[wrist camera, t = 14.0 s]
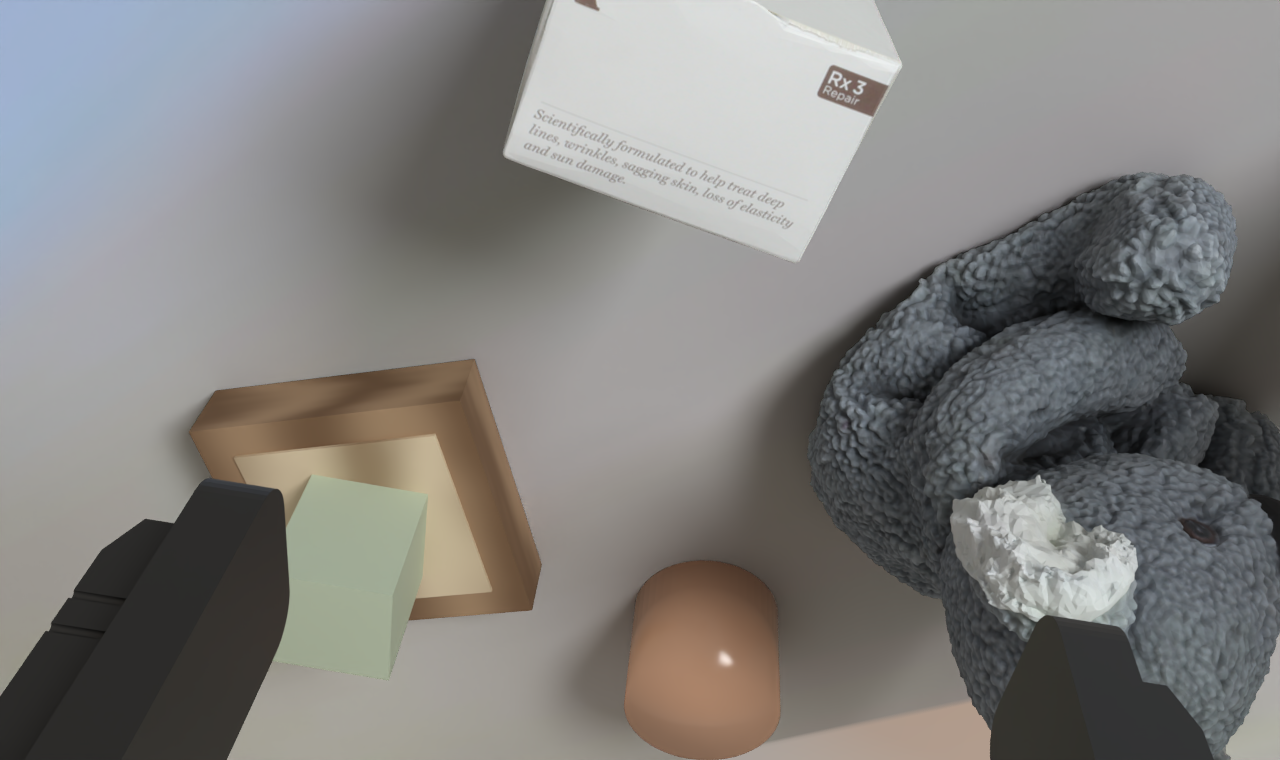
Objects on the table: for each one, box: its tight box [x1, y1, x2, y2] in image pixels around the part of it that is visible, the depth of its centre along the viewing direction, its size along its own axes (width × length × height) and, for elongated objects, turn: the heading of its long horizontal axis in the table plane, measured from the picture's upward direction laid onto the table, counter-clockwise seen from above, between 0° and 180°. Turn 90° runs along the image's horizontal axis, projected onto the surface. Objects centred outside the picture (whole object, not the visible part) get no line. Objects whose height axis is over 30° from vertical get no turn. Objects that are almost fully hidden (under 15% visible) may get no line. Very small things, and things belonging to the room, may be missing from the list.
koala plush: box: [807, 172, 1280, 760], centre depth 40 cm, size 17×18×20 cm
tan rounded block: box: [624, 560, 780, 760], centre depth 54 cm, size 7×7×6 cm
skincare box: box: [503, 0, 902, 263], centre depth 33 cm, size 8×6×15 cm
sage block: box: [273, 474, 428, 680], centre depth 49 cm, size 5×5×6 cm
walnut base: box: [189, 359, 542, 620], centre depth 52 cm, size 12×12×3 cm
